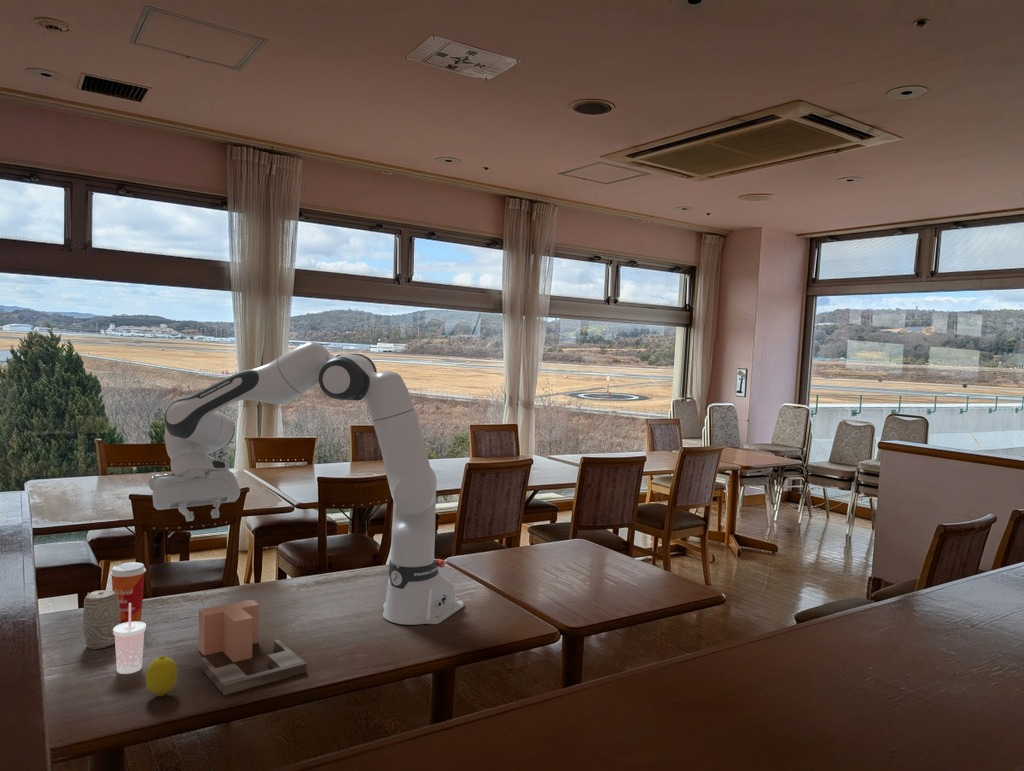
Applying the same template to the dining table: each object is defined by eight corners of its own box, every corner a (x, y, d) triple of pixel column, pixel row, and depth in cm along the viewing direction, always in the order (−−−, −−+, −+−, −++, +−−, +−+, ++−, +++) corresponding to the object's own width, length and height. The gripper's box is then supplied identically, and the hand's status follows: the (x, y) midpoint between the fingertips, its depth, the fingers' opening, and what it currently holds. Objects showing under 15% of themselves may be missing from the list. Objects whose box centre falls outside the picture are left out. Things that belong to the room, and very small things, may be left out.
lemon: (152, 689, 143) (153, 649, 143) (181, 689, 144) (182, 649, 143) (140, 703, 138) (141, 662, 137) (170, 702, 138) (171, 662, 138)
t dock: (200, 667, 153) (200, 658, 153) (278, 648, 164) (278, 639, 164) (224, 695, 142) (224, 685, 142) (306, 672, 153) (306, 663, 153)
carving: (77, 646, 161) (77, 593, 161) (112, 636, 167) (112, 585, 167) (89, 654, 157) (90, 600, 157) (125, 644, 163) (125, 592, 163)
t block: (198, 649, 162) (198, 610, 162) (251, 636, 170) (252, 599, 169) (214, 667, 154) (215, 625, 153) (269, 653, 161) (270, 613, 161)
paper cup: (102, 626, 173) (102, 568, 172) (129, 615, 180) (129, 559, 179) (126, 631, 170) (127, 573, 169) (153, 620, 177) (153, 564, 177)
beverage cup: (147, 671, 151) (148, 605, 150) (114, 678, 147) (114, 610, 147) (144, 660, 156) (144, 596, 155) (111, 666, 152) (112, 601, 152)
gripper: (149, 468, 176) (160, 516, 169) (234, 462, 189) (247, 506, 182) (144, 483, 180) (155, 531, 173) (228, 476, 193) (241, 520, 186)
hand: (203, 518), depth 178 cm, fingers open, 5 cm apart
